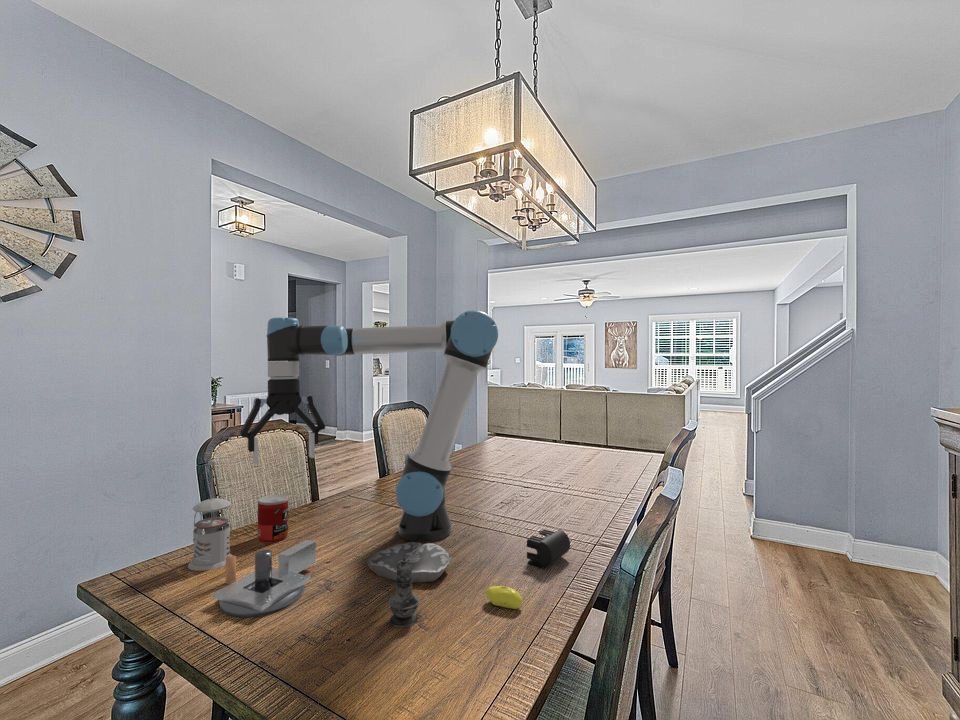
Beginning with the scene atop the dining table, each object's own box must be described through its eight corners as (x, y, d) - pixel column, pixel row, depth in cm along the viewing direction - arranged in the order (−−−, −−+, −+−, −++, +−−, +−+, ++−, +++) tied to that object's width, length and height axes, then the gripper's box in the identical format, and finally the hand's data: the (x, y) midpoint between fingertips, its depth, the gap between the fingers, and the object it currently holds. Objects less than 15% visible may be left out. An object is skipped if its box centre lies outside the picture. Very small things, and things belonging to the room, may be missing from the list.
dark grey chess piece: (390, 611, 89) (390, 550, 89) (420, 610, 90) (420, 549, 90) (386, 629, 83) (387, 564, 83) (418, 627, 84) (419, 563, 84)
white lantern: (200, 574, 104) (201, 466, 104) (176, 562, 110) (176, 460, 110) (242, 558, 112) (243, 458, 112) (217, 548, 119) (217, 453, 119)
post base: (318, 581, 101) (318, 541, 101) (272, 621, 85) (272, 574, 85) (255, 574, 104) (255, 535, 104) (200, 612, 89) (200, 566, 89)
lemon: (517, 616, 88) (517, 596, 88) (481, 605, 92) (481, 586, 92) (525, 606, 92) (526, 586, 92) (490, 595, 96) (491, 577, 96)
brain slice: (460, 557, 115) (460, 545, 115) (440, 590, 98) (441, 576, 98) (388, 550, 119) (388, 539, 119) (357, 581, 102) (357, 567, 102)
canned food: (277, 544, 121) (277, 503, 121) (250, 541, 123) (251, 501, 123) (294, 533, 129) (294, 495, 129) (269, 531, 130) (269, 493, 130)
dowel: (237, 580, 101) (238, 556, 101) (231, 584, 99) (231, 559, 99) (230, 579, 102) (230, 555, 102) (223, 583, 100) (223, 559, 100)
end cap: (551, 573, 106) (551, 544, 106) (525, 565, 110) (525, 537, 110) (570, 558, 114) (570, 532, 114) (545, 551, 118) (545, 525, 118)
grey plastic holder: (261, 611, 86) (261, 585, 86) (212, 598, 91) (213, 573, 91) (332, 566, 106) (333, 544, 106) (289, 557, 110) (289, 536, 110)
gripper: (328, 376, 126) (328, 452, 126) (226, 379, 112) (227, 464, 112) (336, 377, 120) (337, 456, 120) (230, 380, 106) (231, 470, 106)
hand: (284, 460), depth 116 cm, fingers open, 13 cm apart
